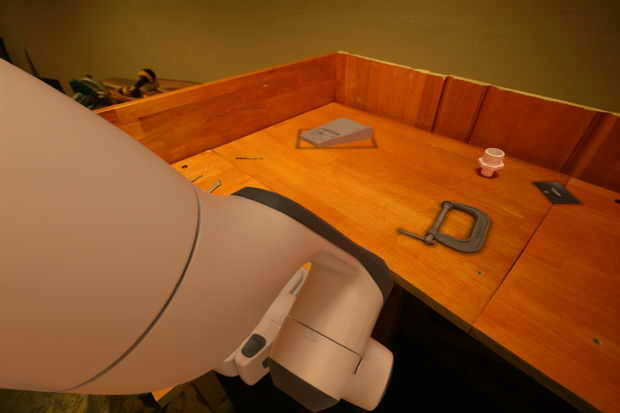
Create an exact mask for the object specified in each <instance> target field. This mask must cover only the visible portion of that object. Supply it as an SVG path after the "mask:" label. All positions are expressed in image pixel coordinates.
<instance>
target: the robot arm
mask: <svg viewBox="0 0 620 413" xmlns="http://www.w3.org/2000/svg"><path fill="white" fill-rule="evenodd" d="M307 263H310V267H309V269H307V268H303V267H304V265H306V264H307ZM393 288H394V280H393V276H392V274H391V271H390V269H389V266H388V264H387V262H386V261H385V260H384V259H383V258H382V257H380V255H378V254H377V253H376V252H374V251H373V250H371V249H369V248H368V247H365V246H364V245H360V244H358V243H357V242H355V241H354V240H353V239H351V238H350V237H348V236H347V235H346V234H344V233H342V232H341V231H340V230H339V229H337V228H336V227H335V226H333V225H332V224H330V223H329V222H328V221H326V220H325V219H323V218H322V217H320V216H319V215H318V214H316V213H315V212H313V211H311V209H309V208H307V207H305V206H303V205H302V204H301V203H299V202H297V201H295V200H293V199H292V198H289V197H287V196H285V195H283V194H280V193H278V192H274V191H272V190H268V189H264V188H261V187H254V186H247V185H246V186H244V187H242V188H240V189H238V190H236V191H234V192H233V193H230V195H229V194H228V195H227V194H226V195H224V194H217V193H216V194H215V193H212V192H209V191H207V190H205V189H203V188H202V187H199V185H197V184H195V183H194V182H192V181H191V180H190V179H188V178H187V177H186V176H185V175H184V174H183V173H181V171H179V170H177V169H176V168H175V167H173V166H172V165H171V164H169V162H167V161H166V160H165V159H164V158H162V157H160V156H159V155H158V154H156V153H155V152H154V151H152V150H151V149H150V148H148V147H147V146H146V145H144V144H143V143H141V142H140V141H138V140H137V139H135V138H134V137H132V136H131V135H130V134H129V133H126V132H125V131H124V130H123V129H120V128H119V127H117V126H116V125H114V124H113V123H111V122H110V121H108V120H107V119H105V118H104V117H102V116H101V115H99V114H98V113H96V112H94V111H93V110H91V109H89V108H88V107H86V106H84V105H83V104H82V103H80V102H78V101H76V100H75V99H73V98H71V97H70V96H68V95H66V94H65V93H63V92H62V91H60V90H58V89H56V88H54V87H53V86H51V85H50V84H48V83H46V82H45V81H43V80H41V79H39V78H38V77H36V76H33V75H32V74H31V73H29V72H27V71H25V70H23V69H21V68H19V67H18V66H16V65H14V64H12V63H10V62H9V61H7V60H5V59H3V58H1V57H0V389H6V390H7V389H8V390H17V391H18V390H19V391H30V392H31V391H34V392H47V393H63V394H78V395H79V394H81V395H82V394H83V395H100V396H101V395H102V396H122V395H127V396H128V395H139V394H146V393H154V392H159V391H162V390H167V389H169V388H173V387H176V386H177V387H178V386H180V385H183V384H185V383H188V382H190V381H193V380H195V379H198V378H200V377H201V376H203V375H205V374H207V373H208V372H210V371H212V370H213V371H214V372H217V373H218V374H221V375H223V376H226V377H236V376H239V378H240V379H241V380H242V381H243V382H244V383H245V384H246V385H248V386H253V385H255V384H256V383H258V382H259V381H260V380H261V379H262V378H263V377H264V376H266V375H267V374H268V373H269V374H270V377H271V380H272V384H273V386H274V387H276V388H277V389H279V391H281V392H283V393H285V394H286V395H287V396H289V397H290V398H292V399H293V400H295V401H296V402H297V403H299V404H300V405H302V406H303V407H305V408H306V409H307V410H309V411H310V412H312V413H317V412H320V411H324V410H326V409H328V408H331V407H332V406H335V405H337V404H339V403H340V400H341V399H342V400H344V401H346V402H349V403H351V404H352V405H355V406H357V407H358V408H361V409H364V410H366V411H371V412H372V411H374V410H375V409H376V408H378V406H380V404H381V402H382V400H383V399H384V397H385V394H386V392H387V390H388V387H389V384H390V381H391V378H392V375H393V370H394V365H395V360H394V355H393V352H392V351H391V350H390V349H388V348H387V347H386V346H385V345H383V344H381V343H380V342H379V341H377V340H376V339H375V338H373V337H372V333H373V330H374V328H375V326H376V324H377V320H378V318H379V316H380V313H381V310H382V308H383V307H384V306H385V305H386V302H387V300H388V298H389V296H390V294H391V292H392V290H393Z"/></svg>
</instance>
